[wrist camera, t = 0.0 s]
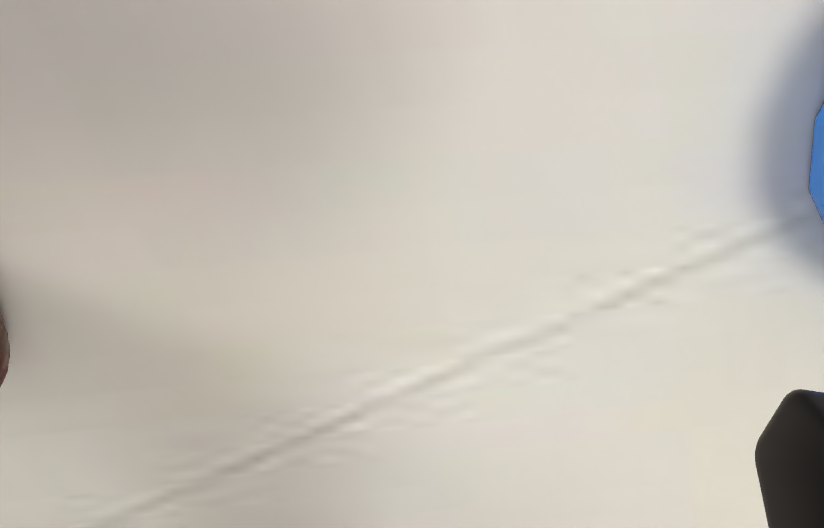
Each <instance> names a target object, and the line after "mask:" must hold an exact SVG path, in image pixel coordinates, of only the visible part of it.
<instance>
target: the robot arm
mask: <svg viewBox="0 0 824 528" xmlns="http://www.w3.org/2000/svg"><path fill="white" fill-rule="evenodd" d="M755 462H756V468H757V473H758V478H759V483H760V487H761V492H762V497H763V502H764V507H765V512H766V517H767V521H768V526H769V528H824V393H823V392H816V391H809V390H802V389H798V390H793V391H792V392H790V393H789V394H787V395H786V397H785V398H784V399H783V401H782V402H781V404H780V406H779V407H778V409H777V410H776V412H775V414H774V415H773V417H772V418H771V420H770V422H769V423H768V425H767V426H766V428H765V430H764V431H763V433H762V434H761V436H760V438H759V440H758V442H757V445H756V451H755Z"/></svg>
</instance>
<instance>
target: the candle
mask: <svg viewBox="0 0 824 528" xmlns="http://www.w3.org/2000/svg"><path fill="white" fill-rule="evenodd" d="M9 358H10V346H9V342H8V333H7V331H6V328H5V326H4V322H3V319H2V315H1V312H0V386H1V385H2V383H3V381H4V379H5V377H6V374H7V371H8V363H9Z"/></svg>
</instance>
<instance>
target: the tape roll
mask: <svg viewBox="0 0 824 528" xmlns="http://www.w3.org/2000/svg"><path fill="white" fill-rule="evenodd" d="M809 191H810V194H811V196H812V198H813V200H814V203H815V205H816V207H817V209H818V212H819V214H820V216H821V218H822V221H823V223H824V104H823V106H822V108H821V110H820V111H819V113H818V115H817V117H816V119H815V126H814V137H813V148H812V160H811V171H810V182H809Z"/></svg>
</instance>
